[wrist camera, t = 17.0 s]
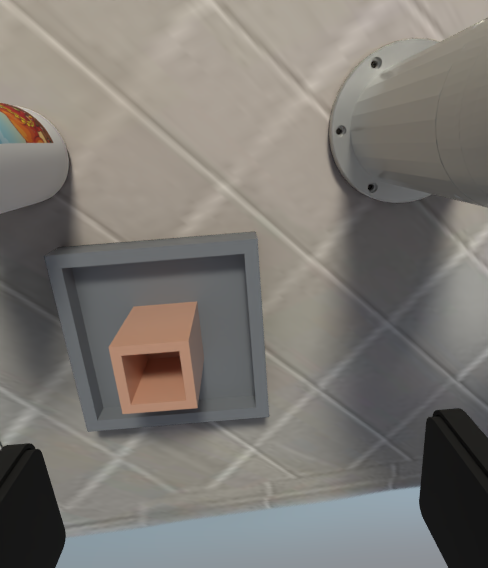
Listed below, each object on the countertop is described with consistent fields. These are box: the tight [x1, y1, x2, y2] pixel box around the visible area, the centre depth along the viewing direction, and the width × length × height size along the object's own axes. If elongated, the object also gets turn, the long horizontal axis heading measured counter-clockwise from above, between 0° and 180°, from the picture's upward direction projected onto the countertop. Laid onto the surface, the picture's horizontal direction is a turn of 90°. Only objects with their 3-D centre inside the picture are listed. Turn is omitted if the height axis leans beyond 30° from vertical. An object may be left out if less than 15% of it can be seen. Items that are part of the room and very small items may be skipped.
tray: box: [44, 232, 269, 432], centre depth 38 cm, size 18×18×3 cm
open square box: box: [109, 301, 204, 414], centre depth 35 cm, size 6×6×8 cm
